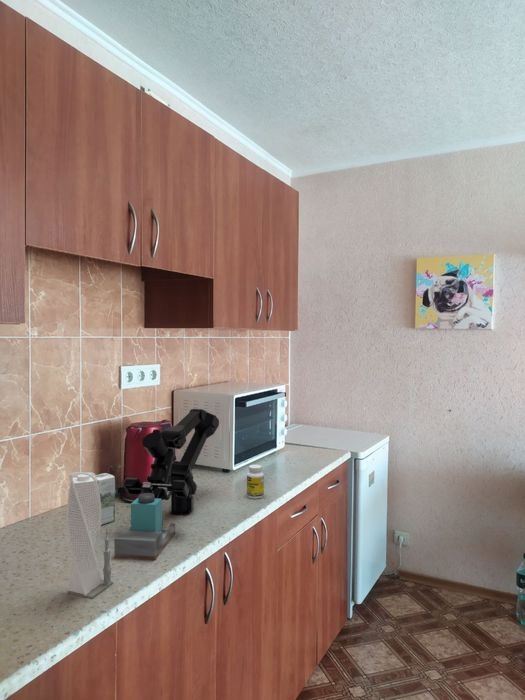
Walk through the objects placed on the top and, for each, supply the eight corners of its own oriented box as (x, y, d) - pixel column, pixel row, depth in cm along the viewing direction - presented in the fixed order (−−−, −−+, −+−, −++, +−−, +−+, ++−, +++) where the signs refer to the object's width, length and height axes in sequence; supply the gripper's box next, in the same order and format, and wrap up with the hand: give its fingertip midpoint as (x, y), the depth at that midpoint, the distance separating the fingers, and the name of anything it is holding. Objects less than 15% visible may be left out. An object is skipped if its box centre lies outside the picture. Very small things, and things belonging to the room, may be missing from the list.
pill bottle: (243, 497, 175) (243, 467, 175) (251, 492, 181) (251, 463, 180) (258, 500, 172) (258, 469, 172) (266, 495, 178) (266, 465, 178)
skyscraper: (87, 602, 107) (86, 475, 106) (59, 594, 110) (57, 471, 109) (112, 583, 115) (111, 465, 114) (85, 577, 118) (84, 462, 117)
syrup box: (105, 516, 157) (104, 472, 156) (115, 521, 153) (115, 475, 153) (88, 522, 152) (88, 476, 152) (99, 526, 149) (98, 479, 148)
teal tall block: (138, 535, 139) (137, 492, 138) (161, 537, 138) (161, 493, 137) (131, 543, 134) (130, 497, 133) (155, 544, 133) (155, 498, 132)
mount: (139, 531, 145) (139, 515, 145) (175, 533, 143) (175, 516, 143) (114, 557, 128) (114, 538, 128) (154, 560, 127) (154, 541, 126)
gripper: (196, 480, 153) (186, 529, 143) (140, 477, 156) (126, 525, 146) (189, 462, 145) (178, 512, 135) (130, 459, 148) (114, 508, 137)
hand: (148, 515), depth 138 cm, fingers closed, pressing on teal tall block
